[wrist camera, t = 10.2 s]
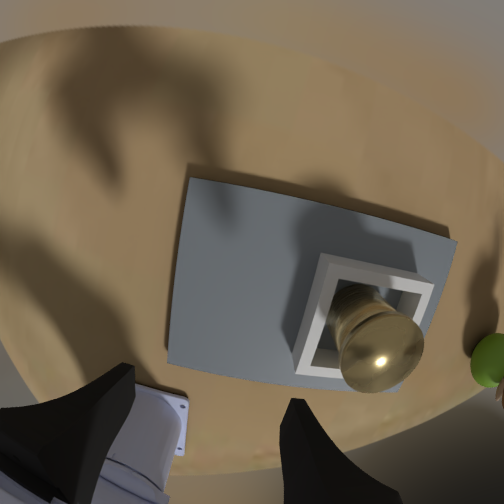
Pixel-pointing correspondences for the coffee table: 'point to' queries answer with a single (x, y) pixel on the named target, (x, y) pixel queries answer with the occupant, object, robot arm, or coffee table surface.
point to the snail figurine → (489, 363)
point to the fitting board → (287, 281)
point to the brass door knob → (372, 339)
